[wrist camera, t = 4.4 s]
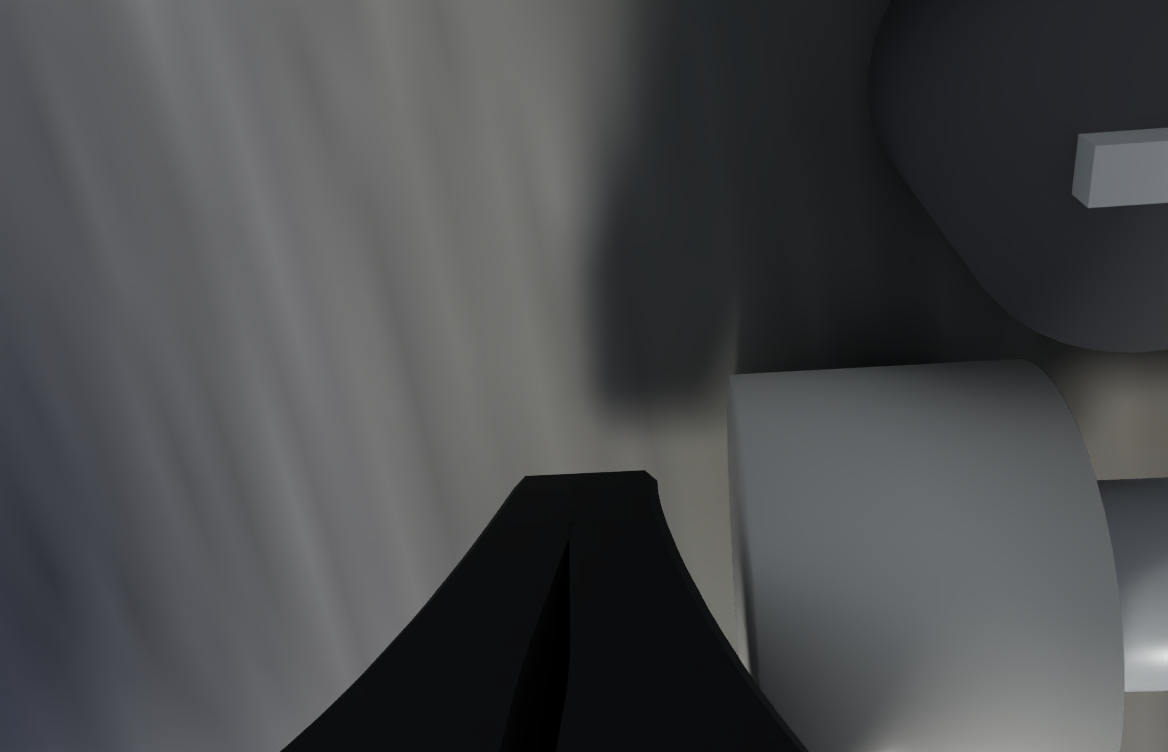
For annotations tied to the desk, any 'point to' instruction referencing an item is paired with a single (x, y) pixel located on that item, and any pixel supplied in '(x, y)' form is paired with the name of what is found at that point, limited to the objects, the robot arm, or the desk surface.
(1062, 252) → the dial
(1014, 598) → the knob
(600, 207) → the desk surface
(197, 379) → the desk surface
